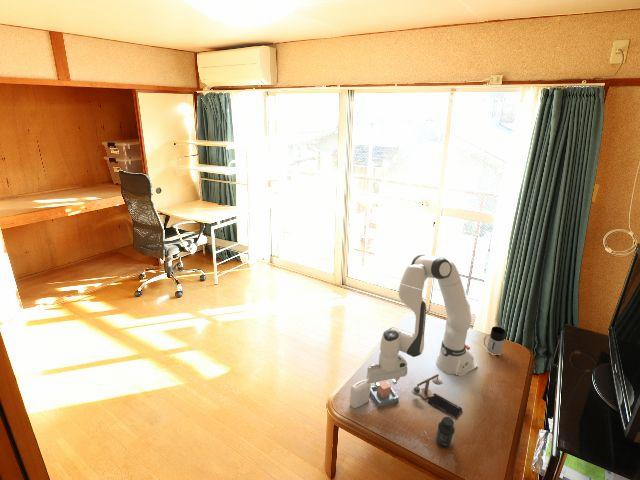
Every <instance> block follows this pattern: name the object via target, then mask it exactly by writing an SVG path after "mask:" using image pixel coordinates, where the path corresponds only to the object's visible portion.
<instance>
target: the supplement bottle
mask: <svg viewBox="0 0 640 480" xmlns="http://www.w3.org/2000/svg"><path fill="white" fill-rule="evenodd" d="M454 424H455V422H454V419H452V417H450V416H443V417H442V419H441V421H439V422H438V424H437V429H436V435H435V442H436V444H437V446H439V447H440V448H442V449H449V448H451V447H452V445H453V440H454V436H455V433H456V432H455V431H456V428H455V426H454Z"/></svg>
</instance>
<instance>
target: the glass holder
mask: <svg viewBox="0 0 640 480" xmlns="http://www.w3.org/2000/svg"><path fill="white" fill-rule="evenodd" d="M490 330H491V331H490V334H489V333H488V334H486V335H485V336H484V339H483V345H484V346H485V348H487V350H488V351H489V352H491V353H493V354H499V353H502V350H503V346H504V342H505V338H506V333H507V331H506V330H505V328H503V327H500V326H496V325H495V326H492V327H491V329H490ZM487 337H489V338H488V342H487V345H486V339H487Z"/></svg>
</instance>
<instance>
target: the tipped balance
mask: <svg viewBox="0 0 640 480" xmlns="http://www.w3.org/2000/svg"><path fill="white" fill-rule="evenodd" d="M439 376H440V375H439V373H436V374H435V375H433V376H431V377H428V378H426V379H425V380H423V381H421V382H419V383H417V385H416V386H414V387H413V388H411V394H412V395H414V396H415V397H419V396H420V397H421V399H423V401H425V400H428V399H429V398H430V397H434V393H433V392H432V391H431V389H429V387H430V383H431V382H430V381H432V383H433V384H434V385H436V386H437V385H439V386H440V385H442V384H443V379H442V377H439ZM422 385H424V387H423V388H421V387H420V386H422Z"/></svg>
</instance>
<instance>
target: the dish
mask: <svg viewBox="0 0 640 480" xmlns="http://www.w3.org/2000/svg"><path fill="white" fill-rule="evenodd" d="M386 382H387V383H388V384H389V385H390V383H389V382H388V381H386ZM370 397H372V399H373V401H374V402H375V404H376V406H377V407H378V408H379V407H384V406H387V405H390V404H394V403H397V402H399V401H400V400H399V399H400V397H399V396H398V393H396V391H395V390H394V388H393V387H392V386H391V389H390V396H388V397H386V398H383V399H382V398H381V397H380V396H379V395H378V393H377V388H376V387H375V384H374V385H371V387H370Z"/></svg>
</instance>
